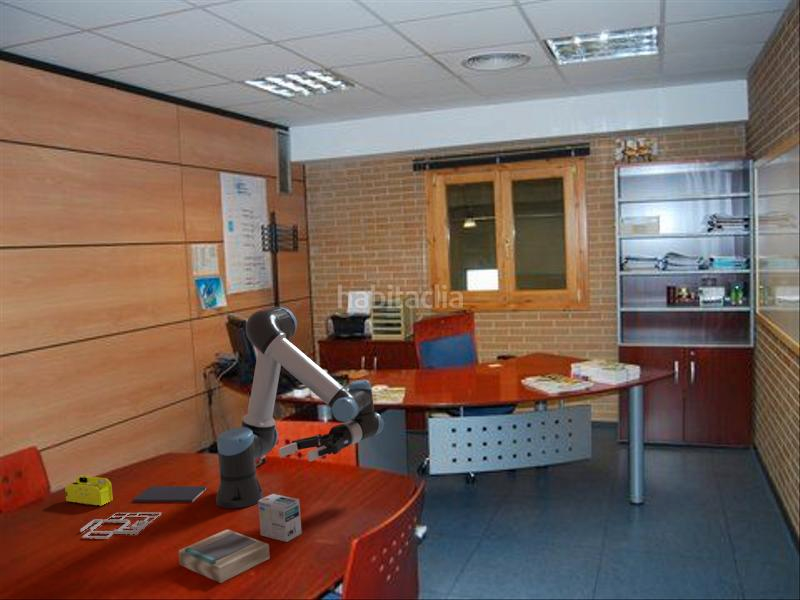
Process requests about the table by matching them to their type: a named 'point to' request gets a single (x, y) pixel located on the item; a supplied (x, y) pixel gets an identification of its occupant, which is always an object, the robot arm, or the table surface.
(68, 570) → the table surface
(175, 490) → the notebook
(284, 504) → the light bulb box
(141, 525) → the floor plan model
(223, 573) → the dock
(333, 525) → the table surface
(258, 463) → the race car
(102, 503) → the yellow toy chassis
